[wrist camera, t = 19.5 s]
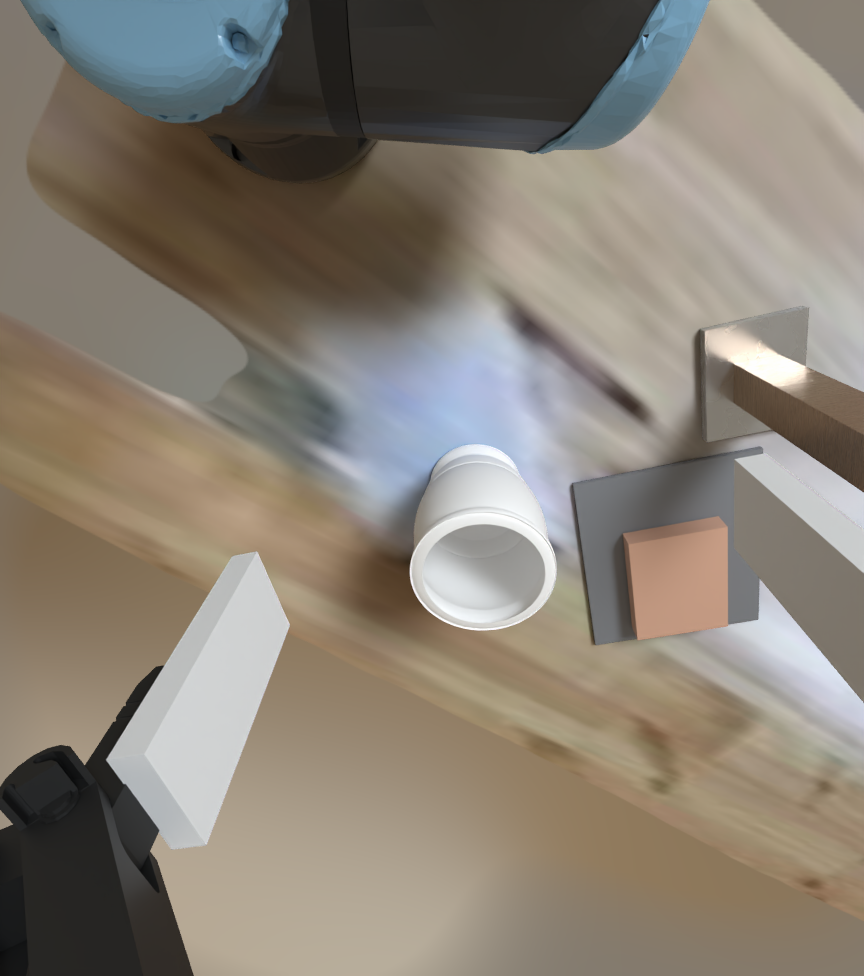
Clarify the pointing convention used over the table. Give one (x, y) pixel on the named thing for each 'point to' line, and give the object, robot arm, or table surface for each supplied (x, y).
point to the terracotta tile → (678, 577)
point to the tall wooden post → (779, 391)
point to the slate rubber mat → (649, 505)
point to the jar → (480, 543)
